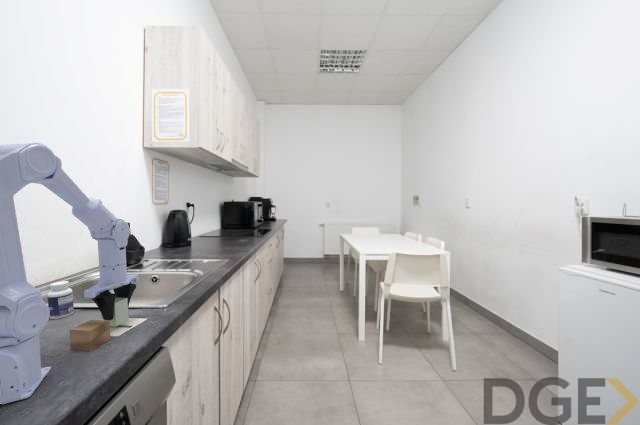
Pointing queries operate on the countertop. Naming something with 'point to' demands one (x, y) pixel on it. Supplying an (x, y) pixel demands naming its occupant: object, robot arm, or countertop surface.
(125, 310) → the sage pillar
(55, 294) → the pill bottle
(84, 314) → the countertop surface
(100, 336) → the walnut block
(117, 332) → the letter card
